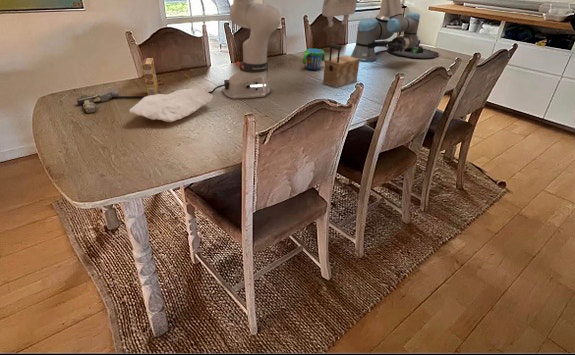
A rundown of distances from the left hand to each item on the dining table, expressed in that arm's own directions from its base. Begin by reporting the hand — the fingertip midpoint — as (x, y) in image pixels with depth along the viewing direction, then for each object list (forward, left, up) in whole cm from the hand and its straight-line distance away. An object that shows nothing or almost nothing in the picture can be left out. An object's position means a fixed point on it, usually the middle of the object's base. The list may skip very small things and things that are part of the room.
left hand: (337, 25), depth 173 cm
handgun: (-108, +13, -29) cm, 113 cm away
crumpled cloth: (-83, -9, -29) cm, 88 cm away
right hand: (+35, +8, -15) cm, 39 cm away
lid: (+6, +2, -18) cm, 19 cm away
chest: (+7, +2, -29) cm, 30 cm away
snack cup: (+5, +28, -29) cm, 41 cm away
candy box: (-86, +17, -29) cm, 93 cm away
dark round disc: (+91, +38, -29) cm, 103 cm away
